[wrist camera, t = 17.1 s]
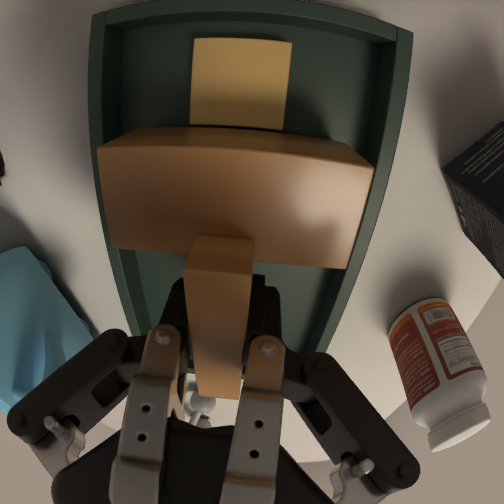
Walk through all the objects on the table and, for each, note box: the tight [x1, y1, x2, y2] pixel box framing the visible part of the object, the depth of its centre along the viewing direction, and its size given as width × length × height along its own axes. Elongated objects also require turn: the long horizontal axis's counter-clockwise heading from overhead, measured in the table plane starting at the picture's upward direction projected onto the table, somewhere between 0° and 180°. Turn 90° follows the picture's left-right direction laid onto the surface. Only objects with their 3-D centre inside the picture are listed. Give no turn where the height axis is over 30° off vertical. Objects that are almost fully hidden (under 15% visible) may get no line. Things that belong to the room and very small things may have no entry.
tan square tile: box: [190, 37, 292, 130], centre depth 10 cm, size 4×4×1 cm
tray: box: [88, 0, 413, 379], centre depth 15 cm, size 14×24×3 cm, turn 175°
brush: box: [97, 126, 374, 400], centre depth 12 cm, size 11×9×7 cm
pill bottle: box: [389, 298, 491, 452], centre depth 15 cm, size 6×6×11 cm
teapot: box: [0, 247, 94, 416], centre depth 16 cm, size 18×16×14 cm
